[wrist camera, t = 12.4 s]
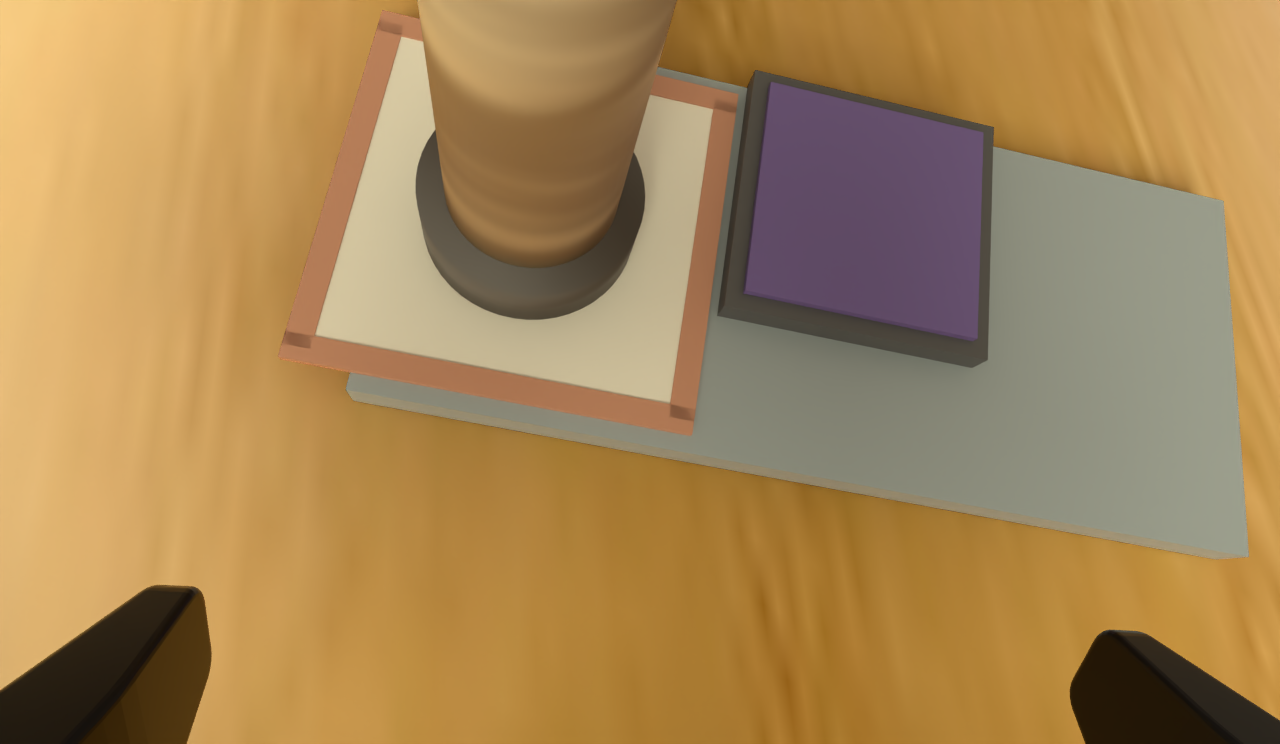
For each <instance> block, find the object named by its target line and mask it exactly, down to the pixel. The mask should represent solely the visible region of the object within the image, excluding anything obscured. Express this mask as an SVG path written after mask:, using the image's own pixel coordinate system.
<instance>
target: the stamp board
mask: <svg viewBox="0 0 1280 744" xmlns="http://www.w3.org/2000/svg"><path fill="white" fill-rule="evenodd" d="M434 131H435V123H434V115H433V108H432V101H431V94H430V87H429V80H428V73H427V66H426V58H425V51H424V44H423V37H422V30H421V23H420V19H418V18H414V17H410V16H406V15H402V14H397V13H393V12H389V11H385V10H382V13H381V17H380V20H379V23H378V27H377V30H376V33H375V36H374V40H373V43H372V46H371V50H370V53H369V56H368V60H367V63H366V66H365V70H364V73H363V76H362V80H361V83H360V86H359V89H358V93H357V96H356V99H355V103H354V106H353V109H352V113H351V116H350V119H349V123H348V126H347V129H346V132H345V136H344V139H343V142H342V146H341V149H340V152H339V156H338V159H337V162H336V166H335V169H334V172H333V176H332V179H331V182H330V185H329V189H328V192H327V195H326V199H325V202H324V205H323V209H322V212H321V215H320V219H319V222H318V225H317V229H316V232H315V235H314V238H313V242H312V245H311V248H310V252H309V255H308V258H307V262H306V265H305V268H304V272H303V275H302V278H301V281H300V285H299V288H298V291H297V295H296V298H295V301H294V305H293V308H292V311H291V315H290V318H289V321H288V325H287V328H286V331H285V334H284V338H283V341H282V344H281V348H280V351H279V354H278V357H279V358H280V359H282V360H287V361H293V362H298V363H303V364H309V365H314V366H319V367H324V368H330V369H335V370H340V371H346V372H350V375H349V379H348V382H347V386H346V391H347V392H348V394H349V395H350V397H351V398H352V399H353V401H358V402H363V403H368V404H374V405H379V406H385V407H390V408H396V409H401V410H406V411H412V412H417V413H423V414H428V415H434V416H439V417H445V418H450V419H455V420H461V421H466V422H472V423H477V424H483V425H488V426H493V427H499V428H504V429H510V430H515V431H521V432H526V433H532V434H537V435H542V436H548V437H553V438H559V439H564V440H570V441H575V442H580V443H586V444H591V445H597V446H602V447H608V448H613V449H618V450H624V451H629V452H635V453H640V454H646V455H651V456H657V457H662V458H667V459H673V460H678V461H684V462H689V463H695V464H700V465H705V466H711V467H716V468H722V469H727V470H733V471H738V472H743V473H749V474H754V475H760V476H765V477H771V478H776V479H782V480H787V481H792V482H798V483H803V484H809V485H814V486H820V487H825V488H830V489H836V490H841V491H847V492H852V493H858V494H863V495H868V496H874V497H879V498H885V499H890V500H896V501H901V502H907V503H912V504H917V505H923V506H928V507H934V508H939V509H945V510H950V511H955V512H961V513H966V514H972V515H977V516H983V517H988V518H994V519H999V520H1004V521H1010V522H1015V523H1021V524H1026V525H1032V526H1037V527H1042V528H1048V529H1053V530H1059V531H1064V532H1070V533H1075V534H1080V535H1086V536H1091V537H1097V538H1102V539H1108V540H1113V541H1119V542H1124V543H1129V544H1135V545H1140V546H1146V547H1151V548H1157V549H1162V550H1167V551H1173V552H1178V553H1184V554H1189V555H1195V556H1200V557H1205V558H1211V559H1227V558H1242V557H1249V551H1248V537H1247V523H1246V509H1245V495H1244V481H1243V467H1242V453H1241V439H1240V425H1239V411H1238V397H1237V383H1236V369H1235V355H1234V341H1233V327H1232V313H1231V299H1230V285H1229V271H1228V257H1227V243H1226V229H1225V215H1224V201H1222V200H1217V199H1213V198H1209V197H1205V196H1200V195H1196V194H1192V193H1188V192H1184V191H1179V190H1175V189H1171V188H1167V187H1162V186H1158V185H1154V184H1150V183H1146V182H1141V181H1137V180H1133V179H1129V178H1125V177H1120V176H1116V175H1112V174H1108V173H1103V172H1099V171H1095V170H1091V169H1087V168H1082V167H1078V166H1074V165H1070V164H1066V163H1061V162H1057V161H1053V160H1049V159H1044V158H1040V157H1036V156H1032V155H1028V154H1023V153H1019V152H1015V151H1011V150H1006V149H1002V148H998V147H994V146H993V135H994V127H991V126H987V125H983V124H978V123H974V122H970V121H966V120H962V119H958V118H953V117H949V116H945V115H941V114H937V113H933V112H928V111H924V110H920V109H916V108H912V107H908V106H903V105H899V104H895V103H891V102H887V101H883V100H878V99H874V98H870V97H866V96H862V95H858V94H853V93H849V92H845V91H841V90H837V89H833V88H828V87H824V86H820V85H816V84H812V83H808V82H803V81H799V80H795V79H791V78H787V77H783V76H778V75H774V74H770V73H766V72H762V71H758V70H755V72H754V74H753V76H752V78H751V80H750V82H749V84H748V87H747V88H745V87H741V86H737V85H732V84H728V83H724V82H720V81H716V80H711V79H707V78H703V77H699V76H694V75H690V74H686V73H682V72H678V71H673V70H669V69H665V68H661V67H658V68H657V72H656V75H655V79H654V82H653V86H652V89H651V93H650V96H649V100H648V103H647V107H646V110H645V114H644V117H643V121H642V124H641V128H640V131H639V135H638V138H637V142H636V145H635V149H634V153H635V155H636V157H637V159H638V162H639V165H640V167H641V170H642V175H643V179H644V186H645V209H644V214H643V219H642V223H641V226H640V228H639V231H638V234H637V237H636V240H635V242H634V245H633V248H632V251H631V253H630V256H629V259H628V262H627V264H626V266H625V268H624V270H623V271H622V273H621V275H620V276H619V278H618V279H617V280H616V282H615V283H614V284H613V285H612V286H611V288H610V289H609V290H608V291H607V292H606V293H605V294H603V295H602V296H601V297H600V298H598V299H597V300H596V301H594V302H593V303H591V304H589V305H588V306H586V307H584V308H582V309H580V310H578V311H575V312H573V313H570V314H567V315H564V316H560V317H556V318H550V319H542V320H524V319H515V318H510V317H505V316H501V315H498V314H495V313H492V312H489V311H487V310H484V309H482V308H480V307H479V306H477V305H475V304H473V303H471V302H470V301H468V300H467V299H465V298H464V297H462V296H461V295H460V294H459V293H458V292H456V291H455V290H454V289H453V288H452V287H451V286H450V285H449V284H448V283H447V282H446V280H445V279H444V278H443V277H442V276H441V274H440V273H439V271H438V270H437V268H436V267H435V265H434V263H433V261H432V259H431V257H430V255H429V253H428V250H427V246H426V243H425V240H424V235H423V230H422V226H421V221H420V216H419V211H418V207H417V200H416V173H417V166H418V163H419V160H420V157H421V153H422V151H423V149H424V147H425V145H426V143H427V141H428V139H429V138H430V136H431V135H432V133H433V132H434Z"/></svg>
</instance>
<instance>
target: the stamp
mask: <svg viewBox="0 0 1280 744" xmlns="http://www.w3.org/2000/svg"><path fill="white" fill-rule="evenodd" d="M417 1H418V9H419V16H420V23H421V30H422V37H423V44H424V51H425V58H426V66H427V73H428V80H429V87H430V94H431V101H432V108H433V115H434V123H435V131H434V132H433V133H432V135H431V136H430V138H429V139H428V141H427V143H426V145H425V147H424V149H423V151H422V153H421V157H420V160H419V163H418V166H417V173H416V200H417V207H418V211H419V216H420V221H421V226H422V230H423V235H424V240H425V243H426V246H427V250H428V253H429V255H430V257H431V259H432V261H433V263H434V265H435V267H436V268H437V270H438V271H439V273H440V274H441V276H442V277H443V278H444V279H445V280H446V282H447V283H448V284H449V285H450V286H451V287H452V288H453V289H454V290H455V291H456V292H458V293H459V294H460V295H461V296H462V297H464V298H465V299H467V300H468V301H470V302H471V303H473V304H475V305H477V306H479V307H480V308H482V309H484V310H487V311H489V312H492V313H495V314H498V315H501V316H505V317H510V318H515V319H524V320H542V319H550V318H556V317H560V316H564V315H567V314H570V313H573V312H575V311H578V310H580V309H582V308H584V307H586V306H588V305H589V304H591V303H593V302H594V301H596V300H597V299H598V298H600V297H601V296H602V295H603V294H605V293H606V292H607V291H608V290H609V289H610V288H611V286H612V285H613V284H614V283H615V282H616V280H617V279H618V278H619V276H620V275H621V273H622V271H623V270H624V268H625V266H626V264H627V262H628V259H629V256H630V253H631V251H632V248H633V245H634V242H635V240H636V237H637V234H638V231H639V228H640V226H641V223H642V219H643V214H644V209H645V186H644V179H643V175H642V170H641V167H640V165H639V162H638V159H637V157H636V155H635V153H634V149H635V145H636V142H637V138H638V135H639V131H640V128H641V124H642V121H643V117H644V114H645V110H646V107H647V103H648V100H649V96H650V93H651V89H652V86H653V82H654V79H655V75H656V72H657V68H658V65H659V61H660V58H661V54H662V51H663V47H664V44H665V40H666V37H667V33H668V29H669V26H670V22H671V19H672V15H673V12H674V8H675V5H676V1H677V0H417Z"/></svg>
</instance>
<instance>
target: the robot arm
mask: <svg viewBox="0 0 1280 744" xmlns="http://www.w3.org/2000/svg"><path fill="white" fill-rule="evenodd" d="M211 654H212V653H211V644H210V636H209V629H208V622H207V615H206V607H205V600H204V597H203V594H202V592H201V591H200V590H199V589H198V588H195V587H192V586H171V585H154V586H151V587H148V588H146V589H144V590H143V591H141V592H140V593H138V594H137V595H135V596H134V597H132V598H131V599H130V600H128V601H127V602H125V603H124V604H122V605H121V606H120V607H118V608H117V609H115V610H114V611H112V612H111V613H110V614H108V615H107V616H105V617H104V618H102V619H101V620H100V621H98V622H97V623H95V624H94V625H93V626H91V627H90V628H88V629H87V630H85V631H84V632H83V633H81V634H80V635H78V636H77V637H75V638H74V639H73V640H71V641H70V642H68V643H67V644H65V645H64V646H63V647H61V648H60V649H58V650H57V651H55V652H54V653H53V654H51V655H50V656H48V657H47V658H45V659H44V660H43V661H41V662H40V663H38V664H37V665H35V666H34V667H33V668H31V669H30V670H28V671H27V672H25V673H24V674H23V675H21V676H20V677H18V678H17V679H15V680H14V681H13V682H11V683H10V684H8V685H7V686H6V687H4V688H3V689H1V690H0V744H187V741H188V738H189V735H190V732H191V728H192V725H193V722H194V719H195V716H196V713H197V710H198V707H199V704H200V701H201V698H202V695H203V692H204V689H205V685H206V682H207V679H208V676H209V671H210V666H211ZM1070 700H1071V705H1072V709H1073V712H1074V714H1075V717H1076V720H1077V722H1078V725H1079V728H1080V730H1081V733H1082V736H1083V738H1084V741H1085V744H1280V720H1278V719H1277V718H1275V717H1273V716H1272V715H1270V714H1269V713H1267V712H1266V711H1264V710H1263V709H1261V708H1260V707H1258V706H1257V705H1255V704H1254V703H1252V702H1250V701H1249V700H1247V699H1246V698H1244V697H1243V696H1241V695H1240V694H1238V693H1237V692H1235V691H1234V690H1232V689H1231V688H1229V687H1227V686H1226V685H1224V684H1223V683H1221V682H1220V681H1218V680H1217V679H1215V678H1214V677H1212V676H1211V675H1209V674H1208V673H1206V672H1205V671H1203V670H1201V669H1200V668H1198V667H1197V666H1195V665H1194V664H1192V663H1191V662H1189V661H1188V660H1186V659H1185V658H1183V657H1182V656H1180V655H1178V654H1177V653H1175V652H1174V651H1172V650H1171V649H1169V648H1168V647H1166V646H1165V645H1163V644H1162V643H1160V642H1159V641H1157V640H1155V639H1154V638H1152V637H1151V636H1149V635H1147V634H1145V633H1142V632H1138V631H1123V630H1107V631H1103V632H1102V633H1100V634H1099V635H1098V636H1097V637H1096V638H1095V640H1094V642H1093V643H1092V645H1091V647H1090V649H1089V651H1088V652H1087V654H1086V656H1085V658H1084V660H1083V662H1082V663H1081V665H1080V667H1079V669H1078V671H1077V672H1076V674H1075V676H1074V678H1073V680H1072V682H1071V686H1070Z"/></svg>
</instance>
